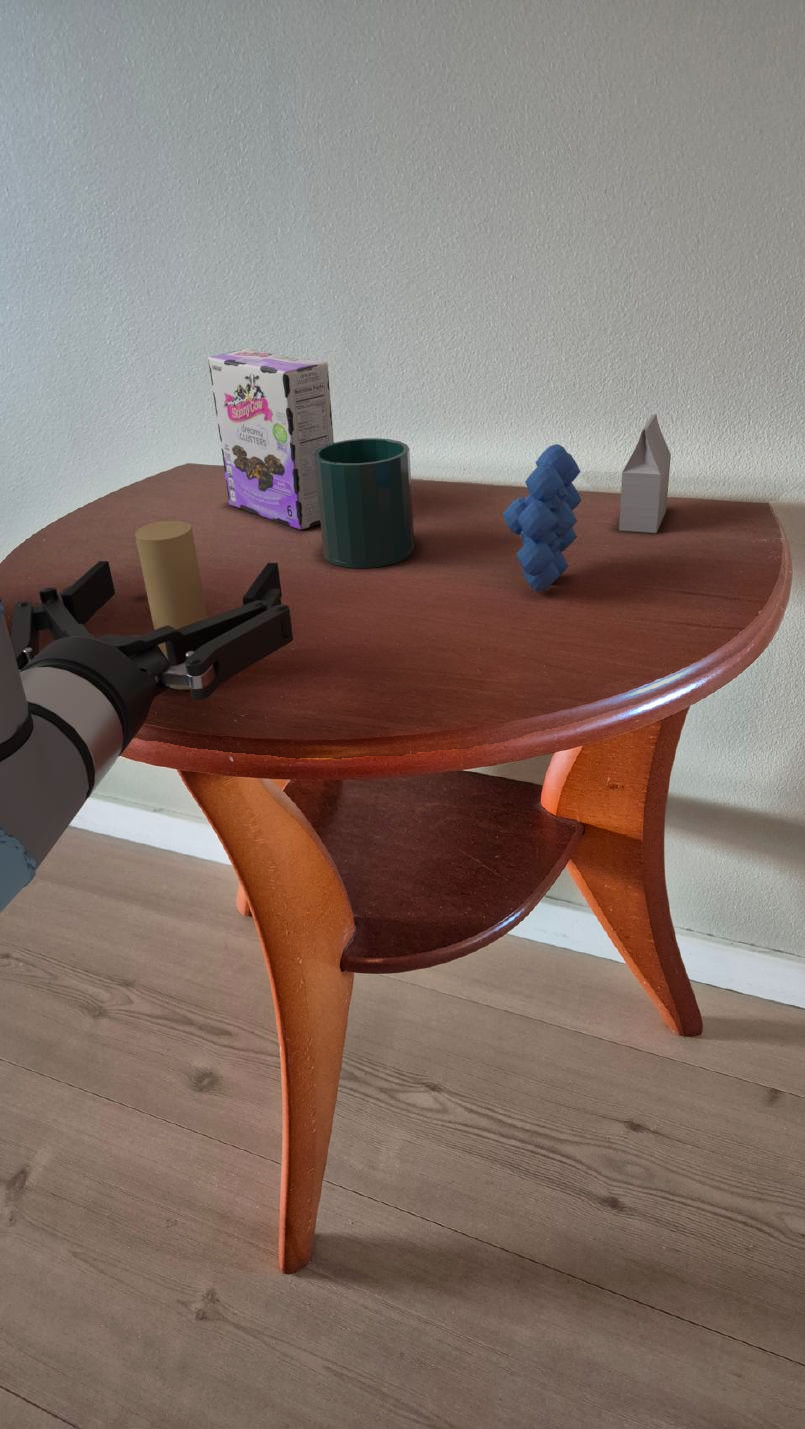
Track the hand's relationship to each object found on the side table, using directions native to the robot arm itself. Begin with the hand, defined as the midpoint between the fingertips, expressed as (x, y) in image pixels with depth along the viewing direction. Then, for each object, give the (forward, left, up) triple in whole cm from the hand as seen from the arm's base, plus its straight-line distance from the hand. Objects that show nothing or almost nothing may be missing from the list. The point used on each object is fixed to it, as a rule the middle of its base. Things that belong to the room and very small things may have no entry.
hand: (190, 578), depth 76 cm
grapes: (+26, +17, -7) cm, 32 cm away
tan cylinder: (0, -3, -7) cm, 8 cm away
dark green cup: (+9, +24, -7) cm, 26 cm away
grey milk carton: (+36, +33, -7) cm, 49 cm away
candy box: (-3, +36, -7) cm, 37 cm away
